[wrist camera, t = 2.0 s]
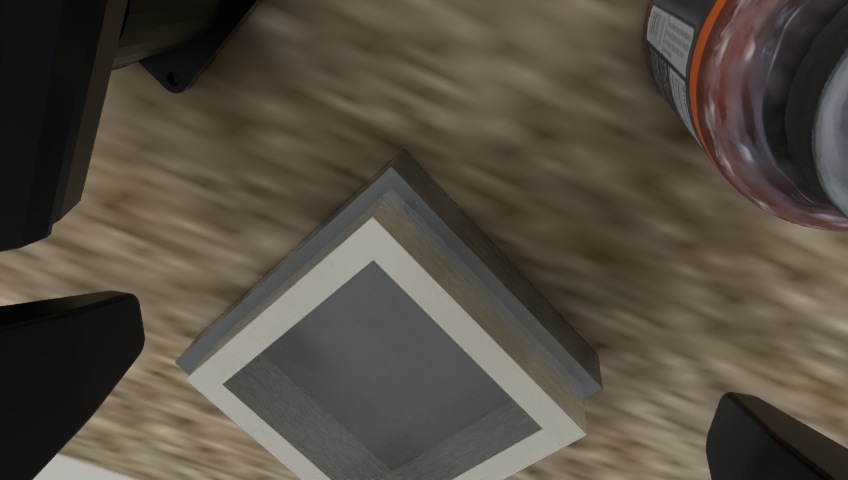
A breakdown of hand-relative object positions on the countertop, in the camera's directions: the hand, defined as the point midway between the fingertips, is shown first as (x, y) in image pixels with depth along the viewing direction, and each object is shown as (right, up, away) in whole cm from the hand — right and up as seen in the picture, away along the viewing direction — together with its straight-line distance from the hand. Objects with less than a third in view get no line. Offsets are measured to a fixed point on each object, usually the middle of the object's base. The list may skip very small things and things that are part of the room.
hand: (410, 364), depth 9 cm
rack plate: (-1, -2, +16) cm, 16 cm away
